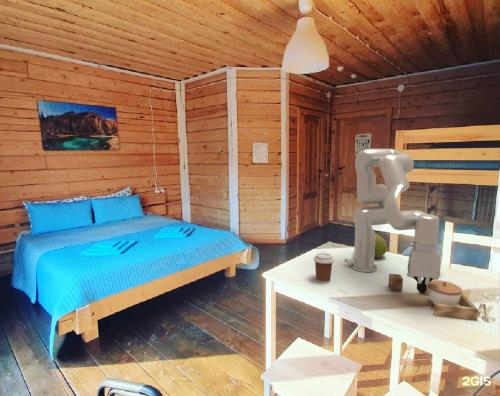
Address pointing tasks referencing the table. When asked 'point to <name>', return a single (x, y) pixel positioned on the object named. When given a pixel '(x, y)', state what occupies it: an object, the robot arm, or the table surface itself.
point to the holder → (456, 309)
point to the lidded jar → (444, 292)
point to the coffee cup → (323, 267)
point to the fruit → (380, 246)
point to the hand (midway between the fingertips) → (421, 292)
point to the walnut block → (395, 282)
